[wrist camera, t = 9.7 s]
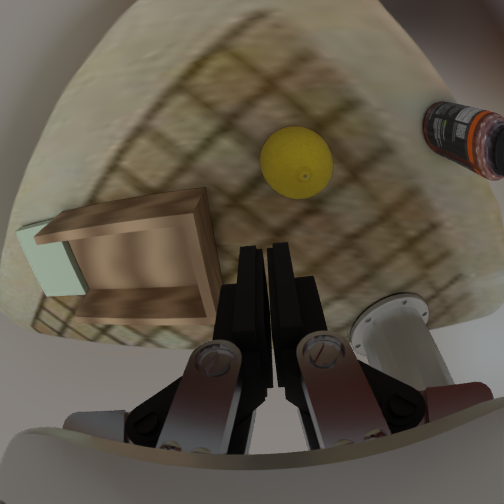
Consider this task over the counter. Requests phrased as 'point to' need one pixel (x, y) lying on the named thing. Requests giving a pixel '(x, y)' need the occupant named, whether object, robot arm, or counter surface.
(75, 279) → the panel
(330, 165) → the lemon
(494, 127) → the supplement bottle
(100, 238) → the crate
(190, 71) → the counter surface
